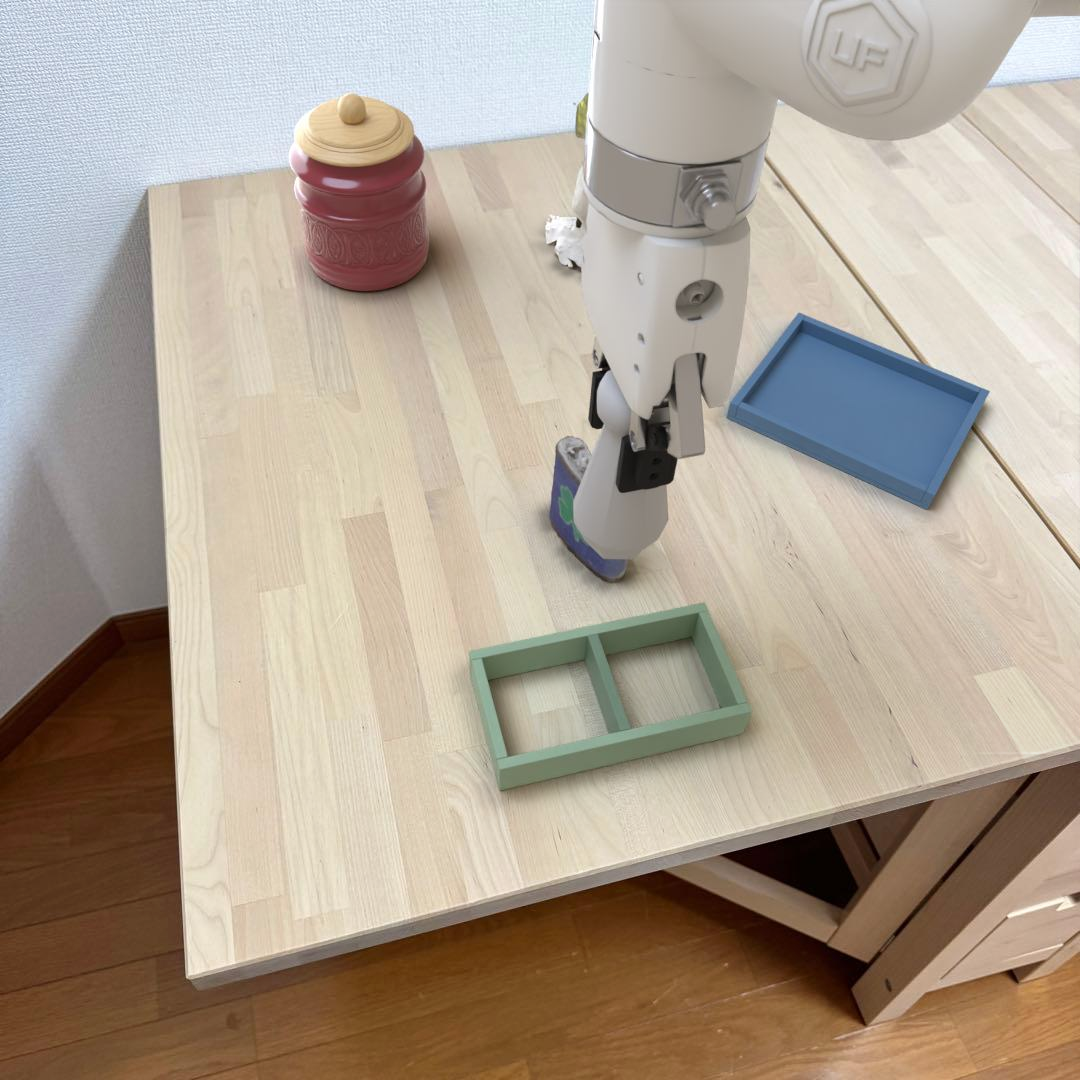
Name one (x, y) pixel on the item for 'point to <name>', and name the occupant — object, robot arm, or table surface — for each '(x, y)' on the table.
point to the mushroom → (566, 227)
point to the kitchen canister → (360, 193)
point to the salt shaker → (598, 505)
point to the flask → (565, 486)
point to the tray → (859, 408)
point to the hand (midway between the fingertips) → (629, 450)
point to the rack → (609, 693)
